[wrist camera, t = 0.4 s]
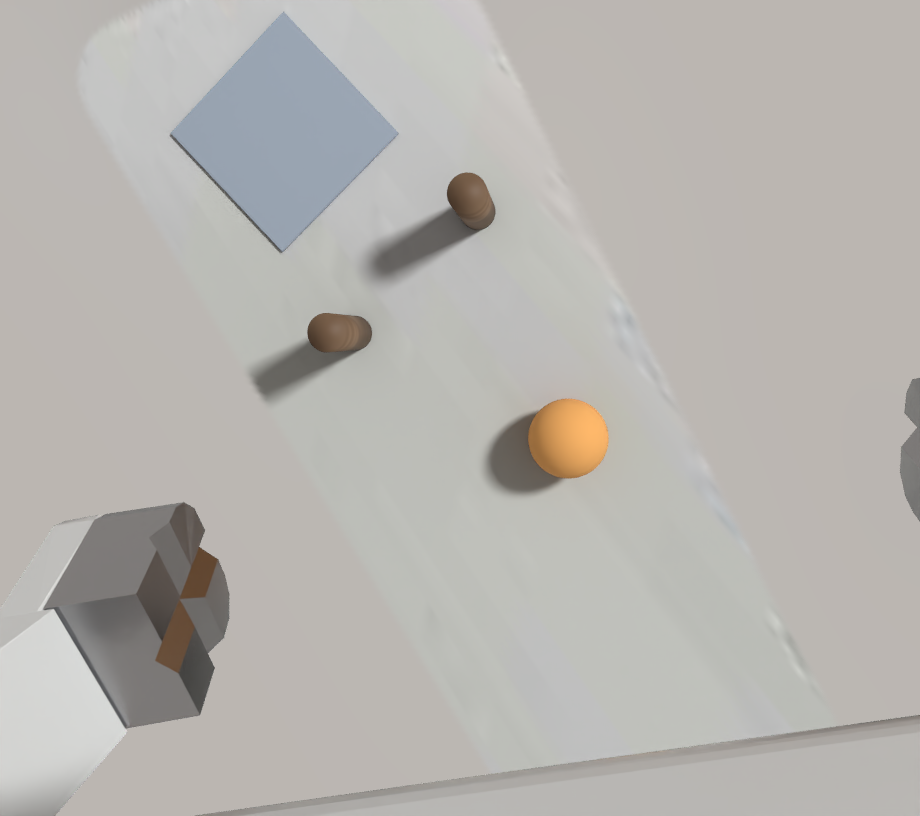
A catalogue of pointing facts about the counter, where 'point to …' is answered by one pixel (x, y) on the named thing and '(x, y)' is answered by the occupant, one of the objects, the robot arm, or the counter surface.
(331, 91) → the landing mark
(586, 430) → the ball
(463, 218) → the post
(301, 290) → the counter surface
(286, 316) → the counter surface
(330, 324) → the post
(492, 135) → the counter surface
